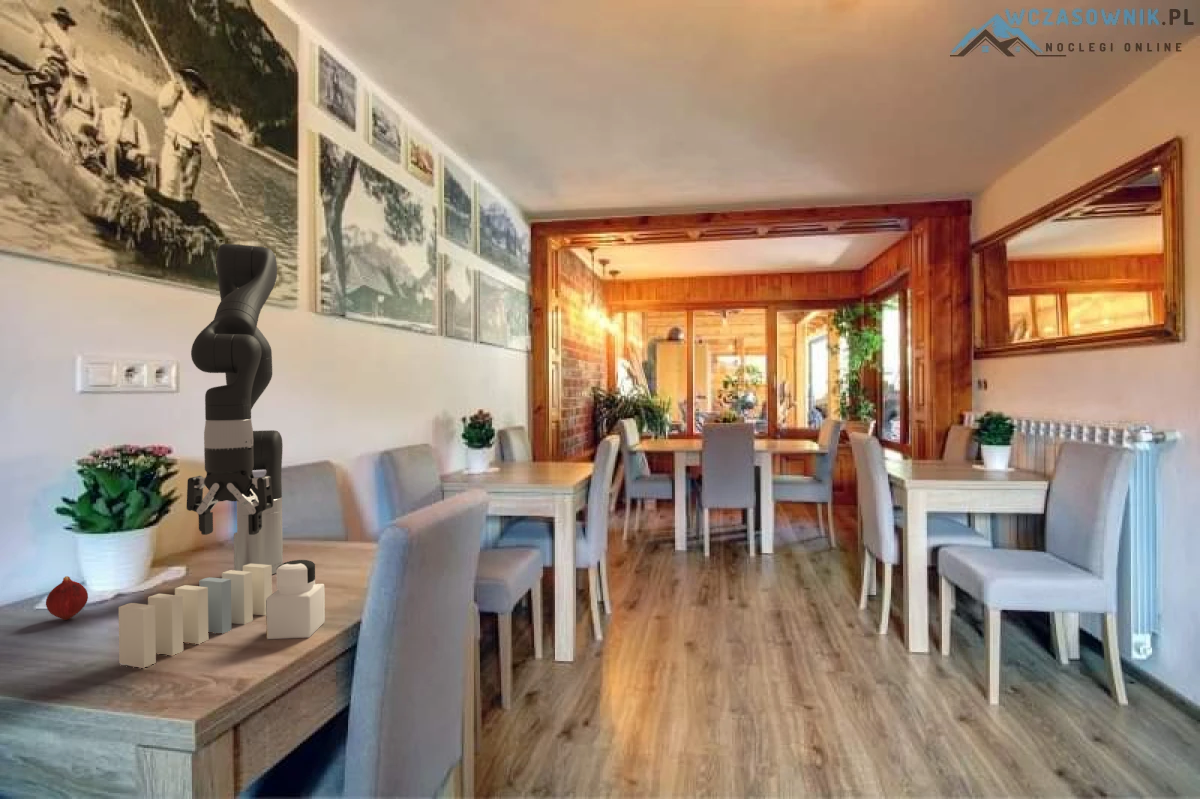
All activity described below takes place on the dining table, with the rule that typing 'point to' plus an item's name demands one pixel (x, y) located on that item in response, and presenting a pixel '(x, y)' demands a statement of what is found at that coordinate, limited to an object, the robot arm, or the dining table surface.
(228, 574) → the domino
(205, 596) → the domino
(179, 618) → the domino
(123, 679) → the dining table surface
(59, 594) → the onion
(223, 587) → the domino
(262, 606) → the domino
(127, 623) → the domino
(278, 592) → the medicine bottle
